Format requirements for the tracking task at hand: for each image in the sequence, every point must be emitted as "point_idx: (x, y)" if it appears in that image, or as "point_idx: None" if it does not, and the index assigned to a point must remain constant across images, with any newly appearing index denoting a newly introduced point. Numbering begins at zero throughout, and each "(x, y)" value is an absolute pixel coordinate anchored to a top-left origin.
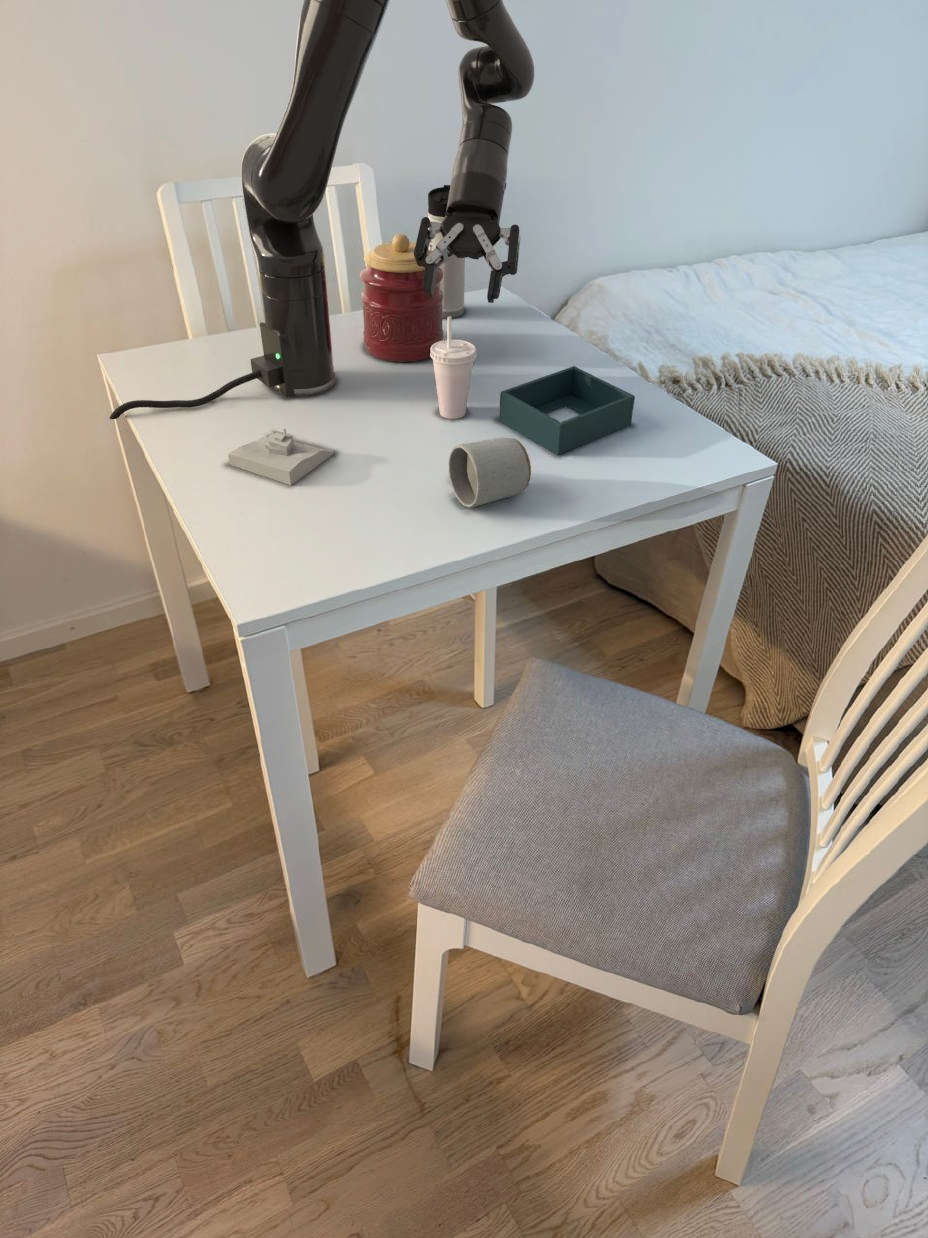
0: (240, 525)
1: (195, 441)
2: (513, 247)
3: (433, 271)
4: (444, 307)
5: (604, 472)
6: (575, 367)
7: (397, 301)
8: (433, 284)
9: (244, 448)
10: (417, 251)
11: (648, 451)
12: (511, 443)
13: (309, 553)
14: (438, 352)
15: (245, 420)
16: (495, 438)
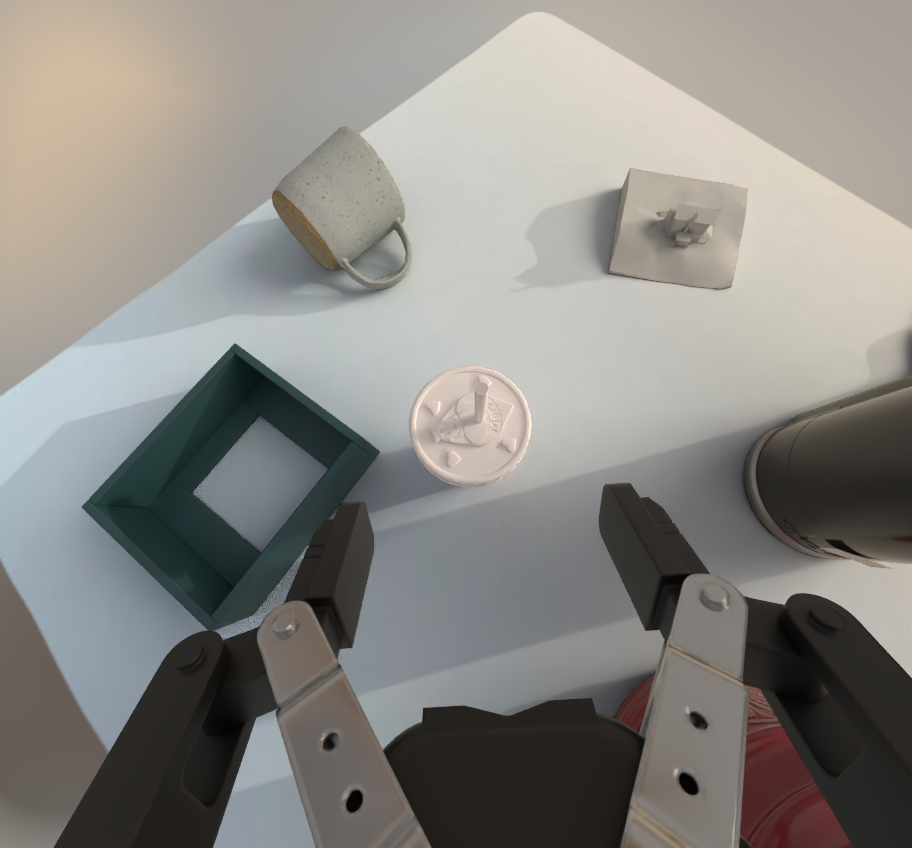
0: (630, 107)
1: (832, 241)
2: (119, 791)
3: (644, 544)
4: None
5: (195, 343)
6: (206, 622)
7: (798, 758)
8: (617, 536)
9: (736, 211)
10: (844, 634)
11: (121, 426)
12: (291, 181)
13: (526, 91)
14: (500, 390)
15: (809, 320)
16: (322, 196)
